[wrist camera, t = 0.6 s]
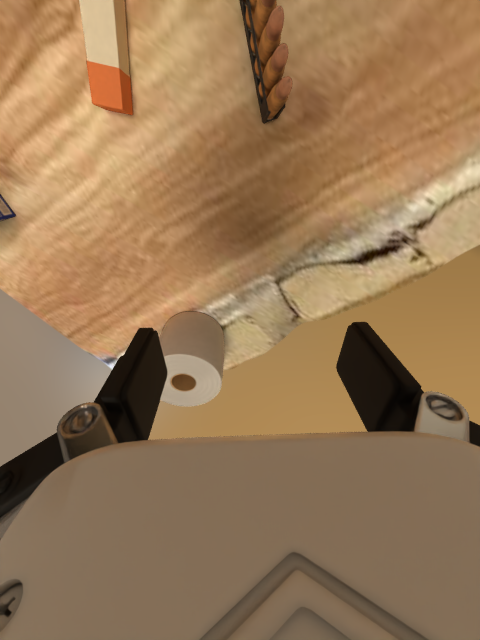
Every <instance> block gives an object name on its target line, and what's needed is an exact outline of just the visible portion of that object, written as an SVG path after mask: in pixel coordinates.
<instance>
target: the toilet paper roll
mask: <svg viewBox="0 0 480 640" xmlns="http://www.w3.org/2000/svg"><path fill="white" fill-rule="evenodd" d="M159 340H160V344H161V348H162V352H163V356H164V359H165V363H166V367H167V379H166V382H165V385H164V389H163V392H162V395H161V399H160V400H162V401H164V402H166V403H169V404H173V405H177V406H197V405H201V404H204V403H207V402H209V401H210V400H212V399H213V398H214V397H215V396H216V395H217V394H218V393H219V391H220V389H221V385H222V376H223V364H224V334H223V330H222V328H221V326H220V325H219V323H218V322H217V321H216V320H215V319H213V318H212V317H210V316H208V315H206V314H204V313H200V312H194V311H188V312H182V313H179V314H177V315H175V316H173V317H172V318H170V319H169V320H168V322H167V323H166V325H165V327H164V329H163V330H162V332H161V334H160V337H159Z"/></svg>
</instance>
